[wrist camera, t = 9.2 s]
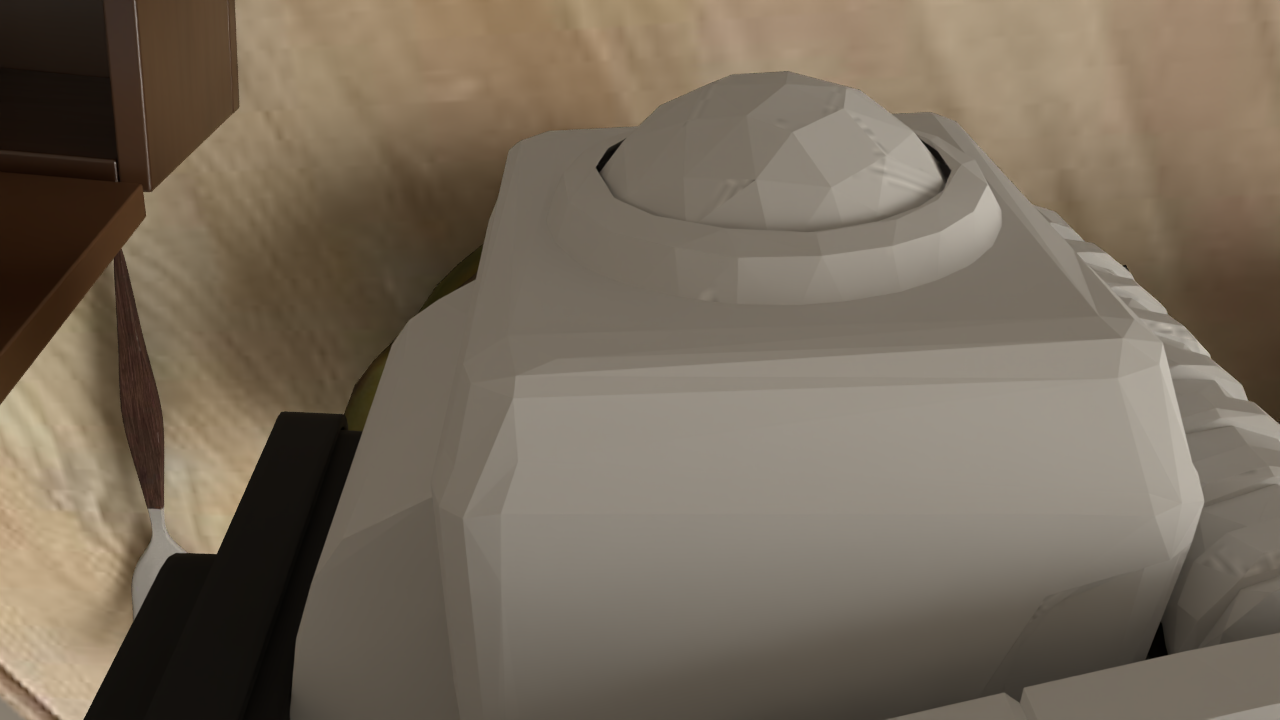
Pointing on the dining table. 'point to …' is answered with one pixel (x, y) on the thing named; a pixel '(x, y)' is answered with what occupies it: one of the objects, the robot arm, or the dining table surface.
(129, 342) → the fork
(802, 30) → the dining table surface
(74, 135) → the chest
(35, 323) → the lid
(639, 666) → the grey knobbed block
